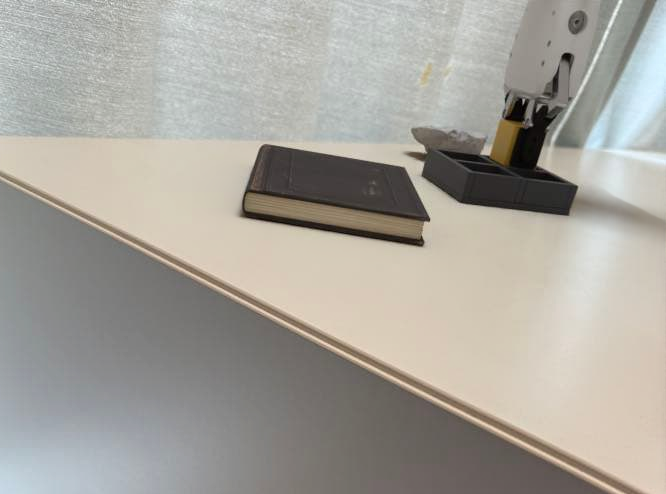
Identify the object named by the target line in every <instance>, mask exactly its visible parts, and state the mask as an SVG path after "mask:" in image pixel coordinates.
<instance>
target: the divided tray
mask: <svg viewBox="0 0 666 494" xmlns="http://www.w3.org/2000/svg"><path fill="white" fill-rule="evenodd" d="M489 157H490V154H489V155H488V154H482V153H481V154H475V153H467V152H460V151H452V150H445V149H437V148H430V147H428V150H427V152H426V154H425V158H424V163H423V166H422V171H421V176H422V177H423V178H425V179H426V180H427V181H429V182H431V183H432V184H433V185H434V186H437V187H438V188H439V189H441V190H442V191H443V192H445V193H447V194H448V195H449V196H451V197H452V198H453V199H455V200H456V201H458V202H460V203H462V204H469V205H477V206H478V205H479V206H486V207H487V206H488V207H496V208H502V209H512V210H521V211H529V212H537V213H546V214H555V215H563V216H569V215H570V212H571V209H572V206H573V204H574V200H575V198H576V195H577V192H578V190H579V185H577V184H575V183H573V182H571V181H569V180H567V179H565V178H563V177H561V176H559V175H557V174H556V173H554V172H551V171H549V170H547V169H546V168H543V167H541V166H539V165H537V166H536V169H535V170H533V169H525V168H518V167H511V166H503V165H502V164H500V163H498V162H496V161H494V160H492V159H491V158H489Z"/></svg>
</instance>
